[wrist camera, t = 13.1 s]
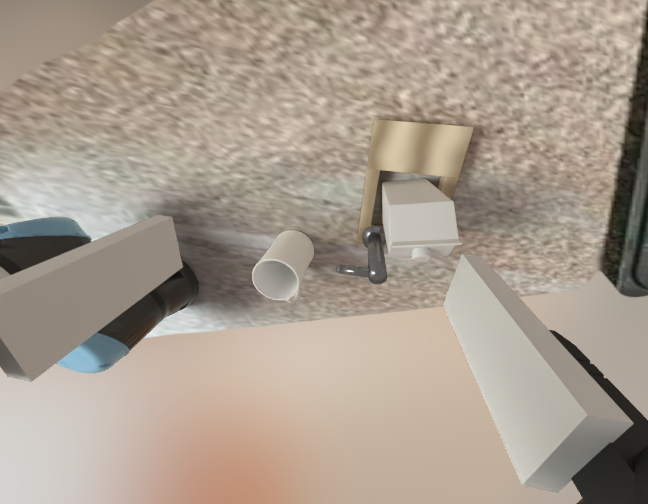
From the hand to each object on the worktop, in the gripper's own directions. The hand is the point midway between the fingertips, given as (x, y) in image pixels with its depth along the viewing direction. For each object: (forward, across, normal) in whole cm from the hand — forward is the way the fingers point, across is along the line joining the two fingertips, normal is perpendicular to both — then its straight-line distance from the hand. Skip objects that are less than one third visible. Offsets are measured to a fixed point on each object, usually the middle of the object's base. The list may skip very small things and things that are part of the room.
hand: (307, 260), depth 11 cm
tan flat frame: (+35, +10, -3) cm, 36 cm away
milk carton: (+35, +10, -5) cm, 37 cm away
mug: (+35, -9, -19) cm, 41 cm away
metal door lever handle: (+35, +4, -12) cm, 37 cm away
